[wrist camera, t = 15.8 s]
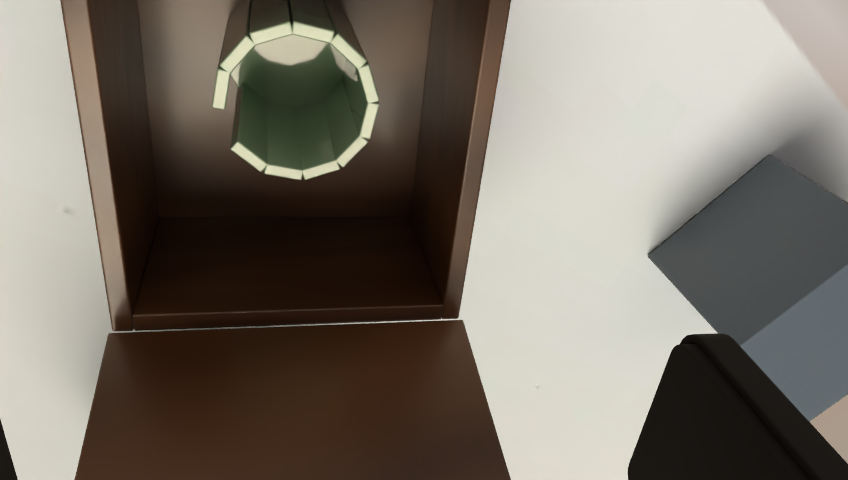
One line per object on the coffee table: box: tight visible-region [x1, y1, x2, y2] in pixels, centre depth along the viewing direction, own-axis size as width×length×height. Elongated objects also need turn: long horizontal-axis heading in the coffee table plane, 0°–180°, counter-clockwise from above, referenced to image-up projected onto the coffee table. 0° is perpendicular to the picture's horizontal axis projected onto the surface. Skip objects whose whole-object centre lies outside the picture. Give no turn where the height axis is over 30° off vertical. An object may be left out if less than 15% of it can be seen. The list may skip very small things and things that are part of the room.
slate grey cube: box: [648, 155, 848, 421], centre depth 34 cm, size 8×8×8 cm
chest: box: [60, 0, 511, 331], centre depth 24 cm, size 13×12×8 cm
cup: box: [212, 0, 379, 180], centre depth 23 cm, size 5×5×6 cm
